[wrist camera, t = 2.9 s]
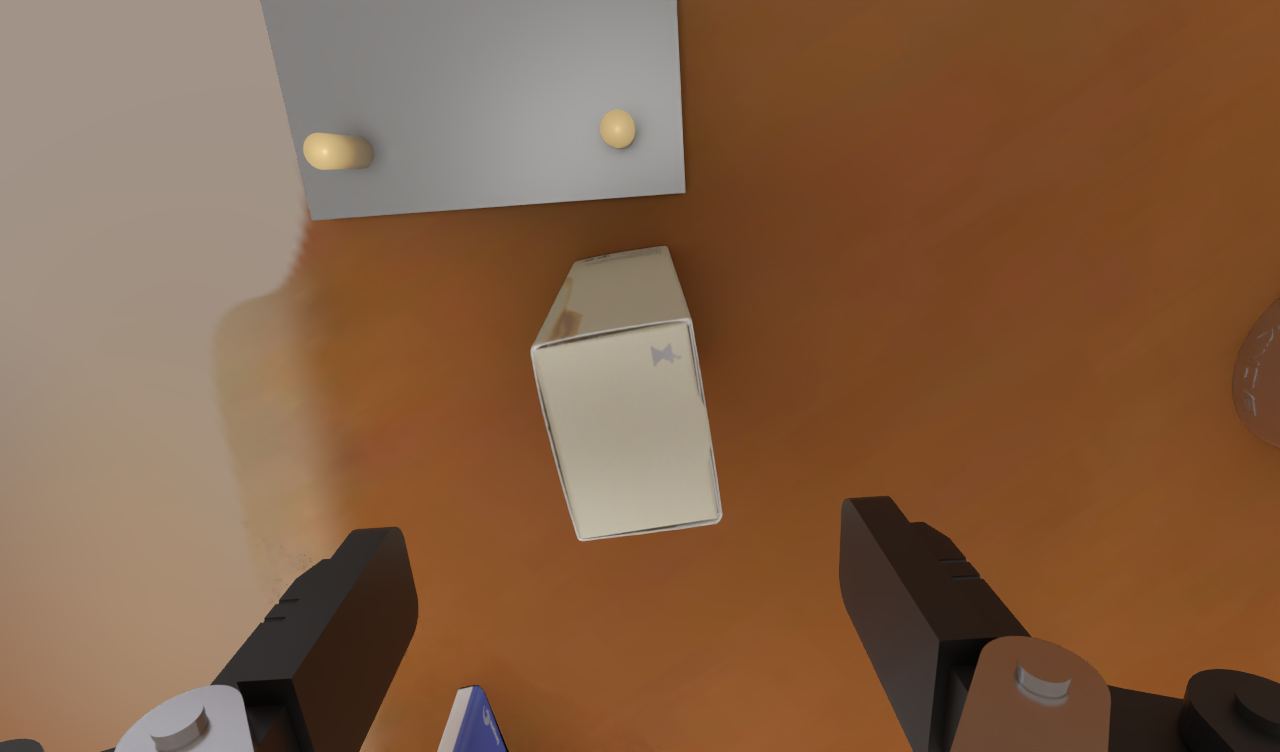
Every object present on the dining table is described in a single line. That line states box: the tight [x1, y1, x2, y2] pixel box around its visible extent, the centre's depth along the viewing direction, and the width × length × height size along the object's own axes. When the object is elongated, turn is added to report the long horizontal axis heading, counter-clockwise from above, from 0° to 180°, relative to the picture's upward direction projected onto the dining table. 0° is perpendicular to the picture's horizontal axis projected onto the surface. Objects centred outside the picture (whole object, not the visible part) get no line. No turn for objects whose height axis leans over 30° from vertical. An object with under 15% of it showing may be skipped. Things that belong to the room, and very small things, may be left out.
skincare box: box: [531, 246, 723, 541], centre depth 22 cm, size 6×4×12 cm
